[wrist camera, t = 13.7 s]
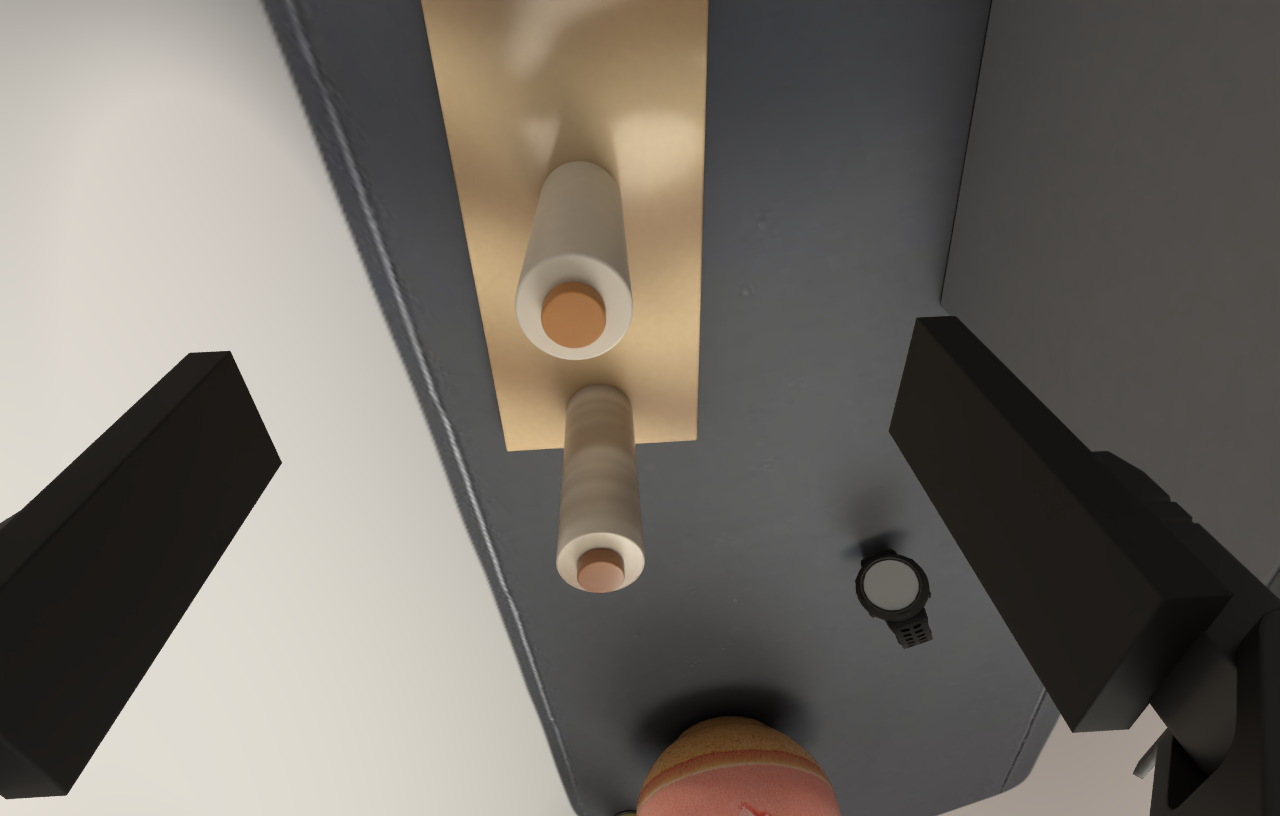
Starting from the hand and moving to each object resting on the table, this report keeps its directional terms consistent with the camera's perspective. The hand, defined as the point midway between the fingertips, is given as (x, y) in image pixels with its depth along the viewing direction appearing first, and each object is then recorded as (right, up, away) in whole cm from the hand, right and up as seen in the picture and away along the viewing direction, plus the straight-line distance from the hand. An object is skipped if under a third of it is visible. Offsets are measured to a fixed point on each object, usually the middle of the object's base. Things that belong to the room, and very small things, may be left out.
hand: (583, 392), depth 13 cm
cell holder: (-1, +8, +11) cm, 14 cm away
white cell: (-1, +7, +11) cm, 13 cm away
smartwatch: (+15, -9, +25) cm, 30 cm away
